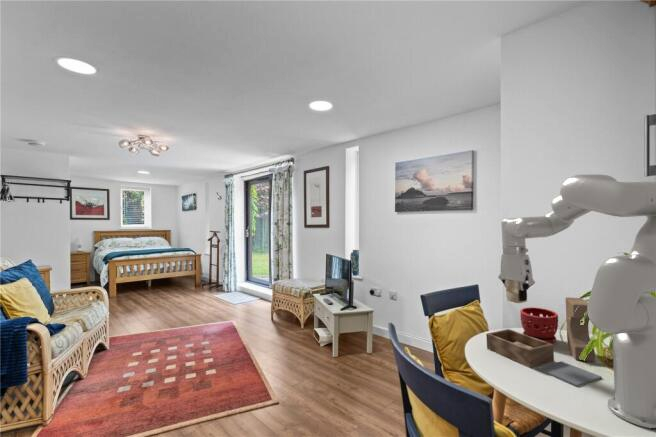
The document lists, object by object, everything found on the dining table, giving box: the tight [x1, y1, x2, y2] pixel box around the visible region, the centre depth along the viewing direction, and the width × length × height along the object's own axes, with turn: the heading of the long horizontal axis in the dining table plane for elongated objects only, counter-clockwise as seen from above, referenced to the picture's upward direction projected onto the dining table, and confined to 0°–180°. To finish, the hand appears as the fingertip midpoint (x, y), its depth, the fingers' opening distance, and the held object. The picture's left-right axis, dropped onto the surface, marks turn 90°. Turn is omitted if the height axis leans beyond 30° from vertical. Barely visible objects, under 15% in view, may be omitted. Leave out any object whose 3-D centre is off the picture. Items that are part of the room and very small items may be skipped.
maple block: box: [505, 280, 528, 304], centre depth 118 cm, size 4×4×8 cm
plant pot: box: [519, 307, 559, 344], centre depth 131 cm, size 13×13×12 cm
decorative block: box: [564, 297, 596, 363], centre depth 116 cm, size 11×6×20 cm, turn 154°
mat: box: [537, 360, 603, 388], centre depth 103 cm, size 12×12×1 cm
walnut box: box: [486, 328, 555, 369], centre depth 118 cm, size 18×12×6 cm, turn 21°
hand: (516, 298), depth 118 cm, fingers closed on maple block, 4 cm apart
